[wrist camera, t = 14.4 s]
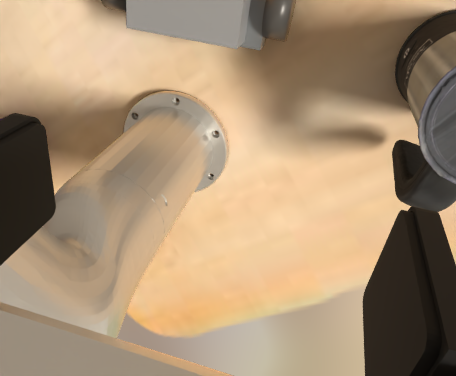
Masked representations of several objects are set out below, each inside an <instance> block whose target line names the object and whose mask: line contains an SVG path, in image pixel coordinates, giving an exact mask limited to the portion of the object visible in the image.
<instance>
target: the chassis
mask: <svg viewBox="0 0 456 376" xmlns="http://www.w3.org/2000/svg"><path fill="white" fill-rule="evenodd" d="M101 1H102V3H103V5H104V6H105V7H106V8H108V9H114V10H119V11H125V12H126V25H127V28H130V29H135V30H140V31H146V32H151V33H156V34H161V35H166V36H172V37H177V38H182V39H187V40H192V41H198V42H203V43H208V44H213V45H219V46H224V47H229V48H234V49H238V48H239V47H245V48H250V49H256V50H261V49H262V48H263V46H264V43H265V38H270V39H276V40H281V41H286V39H287V36H288V33H289V30H290V26H291V22H292V17H293V13H294V8H295V3H296V0H101Z"/></svg>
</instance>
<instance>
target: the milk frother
mask: <svg viewBox="0 0 456 376" xmlns="http://www.w3.org/2000/svg"><path fill="white" fill-rule="evenodd" d="M395 76H396V83H397V86H398V89H399V91H400V93H401V95H402V96H403V97H404V99H405V100H406V101H407V102H408V103H409V105H410V109H411V111H412V114H413V116H414V118H415V121H416V123H417V126H418V138H419V144H420V146H418V145H416V144H413V143H411V142H408V141H405V140H399V141H397V142H396V143H395V145H394V148H393V151H392V158H393V169H394V180H395V191H396V195H397V197H398V199H399V200H400V201H401V202H404V203H405V204H407V205H410V206H414V207H418V208H422V209H426V210H431V211H435V212H439V211H442V210H444V209H446V208H447V207H449V206H450V205H451V204H453V203H454V202H455V201H456V10H455V11H449V12H446V13H442V14H440V15H437V16H435V17H433V18H431V19H429V20H427V21H426V22H425V23H423V24H422V25H420V26H419V27H418V28H417V29H416V30H415V31H414V32H413V33H412V34H411V35H410V36H409V37H408V39H407V40H406V41H405V43H404V45H403V46H402V48H401V50H400V53H399V55H398V58H397V62H396V70H395Z"/></svg>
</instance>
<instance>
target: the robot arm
mask: <svg viewBox="0 0 456 376" xmlns="http://www.w3.org/2000/svg"><path fill="white" fill-rule="evenodd" d="M177 98H178V99H179V101H178V100H177ZM216 131H218V132H219V133H217V132H216ZM227 158H228V140H227V137H226V133H225V130H224V128H223V126H222V124H221V122H220V120H219V119H218V118H217V116H216V115H215V114H214V112H213V111H212V110H211V109H210V108H209V107H208V106H207V105H205V104H204V103H202V102H201V101H199V100H198V99H196V98H194V97H192V96H190V95H188V94H185V93H181V92H177V91H161V92H155V93H153V94H150V95H148V96H146V97H145V98H143V99H141V100H140V101H139V102H138V103H137V104H135V105H134V106H133V108H132V109H131V110H130V111H129V113H128V115H127V118H126V120H125V124H124V130H123V134H122V135H121V136H120V137H119V138H118V139H116V140H115V141H114V142H113V143H112V144H111V145H109V146H108V147H107V148H106V149H105V150H104V151H102V152H101V153H100V154H99V155H98V156H97V157H95V158H94V159H93V160H92V161H91V162H90V163H88V164H87V165H86V166H85V167H84V168H82V169H81V170H80V171H79V172H78V173H77V174H75V175H74V176H73V177H72V178H71V179H69V180H68V181H67V182H66V183H65V184H64V185H63V186H62V187H61V188H60V189H59V190H58V191H57V193H56V194H55V196H54V188H53V181H52V174H51V166H50V159H49V152H48V144H47V137H46V130H45V128H44V126H43V125H41V123H40V121H39V120H38V119H37V118H35V117H31V116H26V115H22V114H17V113H14V114H11V115H9V116H7V117H5V118H3V119H1V120H0V376H233V375H230V374H227V373H224V372H220V371H217V370H214V369H211V368H208V367H205V366H202V365H199V364H195V363H192V362H189V361H186V360H183V359H180V358H177V357H174V356H170V355H167V354H164V353H161V352H158V351H154V350H152V349H148V348H145V347H142V346H139V345H136V344H133V343H130V342H126V341H123V340H120V339H117V337H118V334H119V331H120V328H121V325H122V323H123V320H124V317H125V314H126V312H127V309H128V306H129V304H130V301H131V299H132V297H133V295H134V292H135V290H136V288H137V286H138V284H139V282H140V280H141V278H142V276H143V275H144V273H145V271H146V270H147V268H148V266H149V264H150V263H151V261H152V259H153V258H154V256H155V254H156V253H157V251H158V250H159V248H160V246H161V245H162V243H163V241H164V240H165V238H166V237H167V235H168V233H169V232H170V230H171V229H172V227H173V225H174V224H175V222H176V220H177V219H178V217H179V216H180V214H181V212H182V211H183V209H184V208H185V206H186V204H187V203H188V201H189V199H190V198H191V196H192V195H193V193H194V192H197V191H201V190H203V189H205V188H207V187H209V186H210V185H211V184H213V183H214V182H215V181H216V180H217V179H218V177H219V176H220V175H221V173H222V171H223V170H224V167H225V165H226V162H227ZM363 326H364V356H365V376H456V264H455V261H454V258H453V255H452V252H451V249H450V246H449V243H448V240H447V237H446V234H445V231H444V227H443V224H442V221H441V218H440V215H439V213H438V212H435V211H431V210H426V209H422V208H418V207H414V206H412V207H410V209H409V210H408V211H404V210H401V211H400V212H399V214H398V216H397V218H396V220H395V223H394V225H393V227H392V230H391V232H390V234H389V236H388V239H387V241H386V243H385V246H384V248H383V250H382V252H381V255H380V257H379V259H378V262H377V264H376V266H375V268H374V271H373V273H372V275H371V278H370V280H369V282H368V284H367V287H366V289H365V292H364V296H363Z"/></svg>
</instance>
